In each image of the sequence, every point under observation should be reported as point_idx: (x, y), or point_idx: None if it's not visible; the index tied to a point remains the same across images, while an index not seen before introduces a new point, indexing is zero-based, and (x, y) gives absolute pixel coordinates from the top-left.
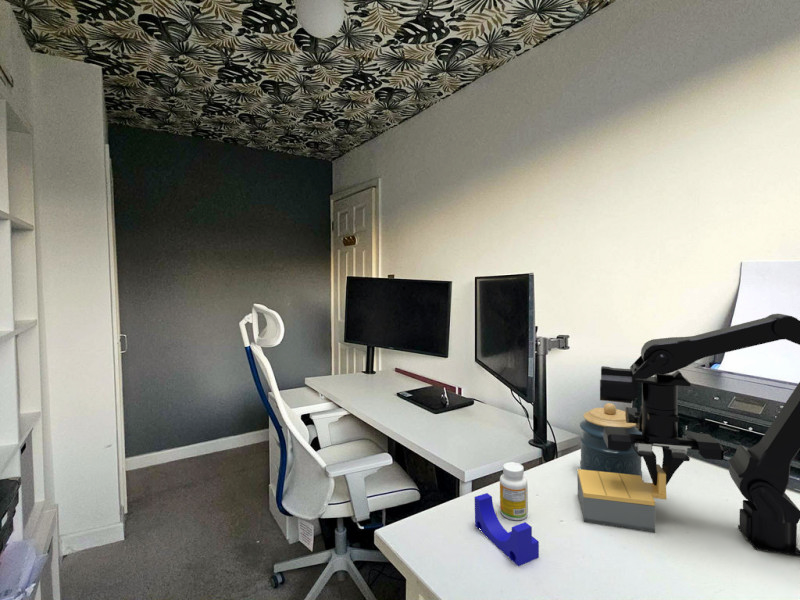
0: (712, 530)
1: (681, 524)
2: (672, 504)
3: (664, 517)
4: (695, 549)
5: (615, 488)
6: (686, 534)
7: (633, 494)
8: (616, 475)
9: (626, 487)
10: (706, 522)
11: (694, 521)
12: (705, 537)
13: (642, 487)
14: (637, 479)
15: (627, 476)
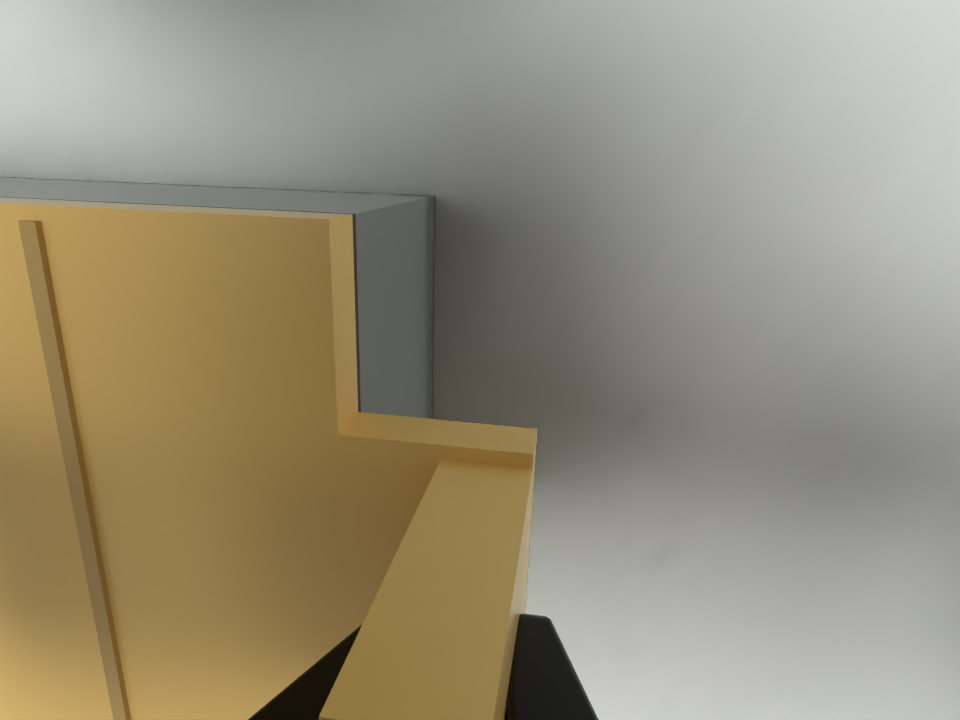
0: (884, 510)
1: (667, 468)
2: (749, 138)
3: (571, 392)
4: (623, 714)
5: (6, 618)
6: (643, 581)
7: (172, 714)
8: (1, 290)
9: (113, 588)
10: (910, 406)
11: (806, 408)
12: (767, 598)
13: (288, 570)
14: (262, 368)
15: (142, 288)
